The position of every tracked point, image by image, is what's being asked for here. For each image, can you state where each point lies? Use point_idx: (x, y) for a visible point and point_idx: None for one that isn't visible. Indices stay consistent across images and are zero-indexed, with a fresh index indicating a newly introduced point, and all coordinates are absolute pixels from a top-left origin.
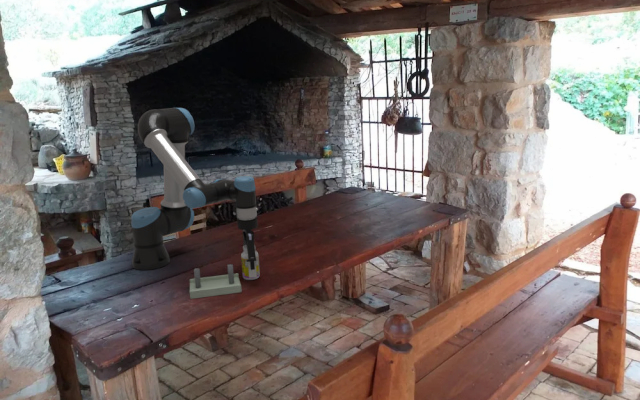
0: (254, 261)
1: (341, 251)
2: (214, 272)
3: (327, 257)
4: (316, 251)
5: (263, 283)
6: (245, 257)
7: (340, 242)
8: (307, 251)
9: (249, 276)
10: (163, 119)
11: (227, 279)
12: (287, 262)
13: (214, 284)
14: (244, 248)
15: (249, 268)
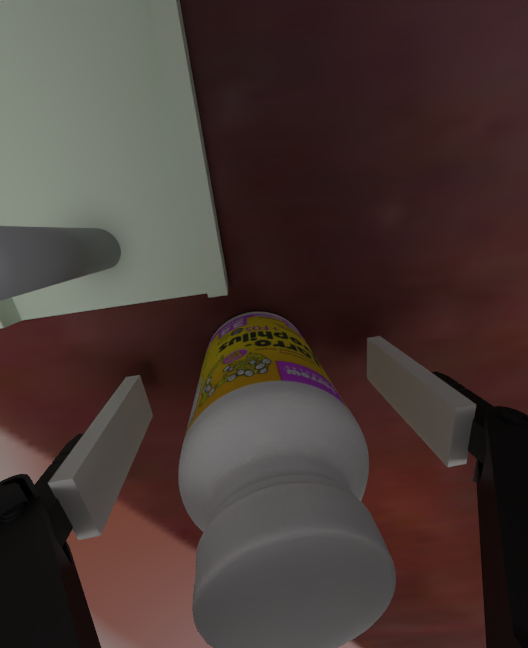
0: (78, 521)
1: (435, 633)
2: (407, 95)
3: (397, 606)
4: (475, 575)
5: (156, 419)
6: (186, 443)
7: None
8: None
9: (121, 383)
10: None
11: (172, 213)
12: (403, 496)
13: (68, 98)
14: (224, 544)
15: (96, 426)
